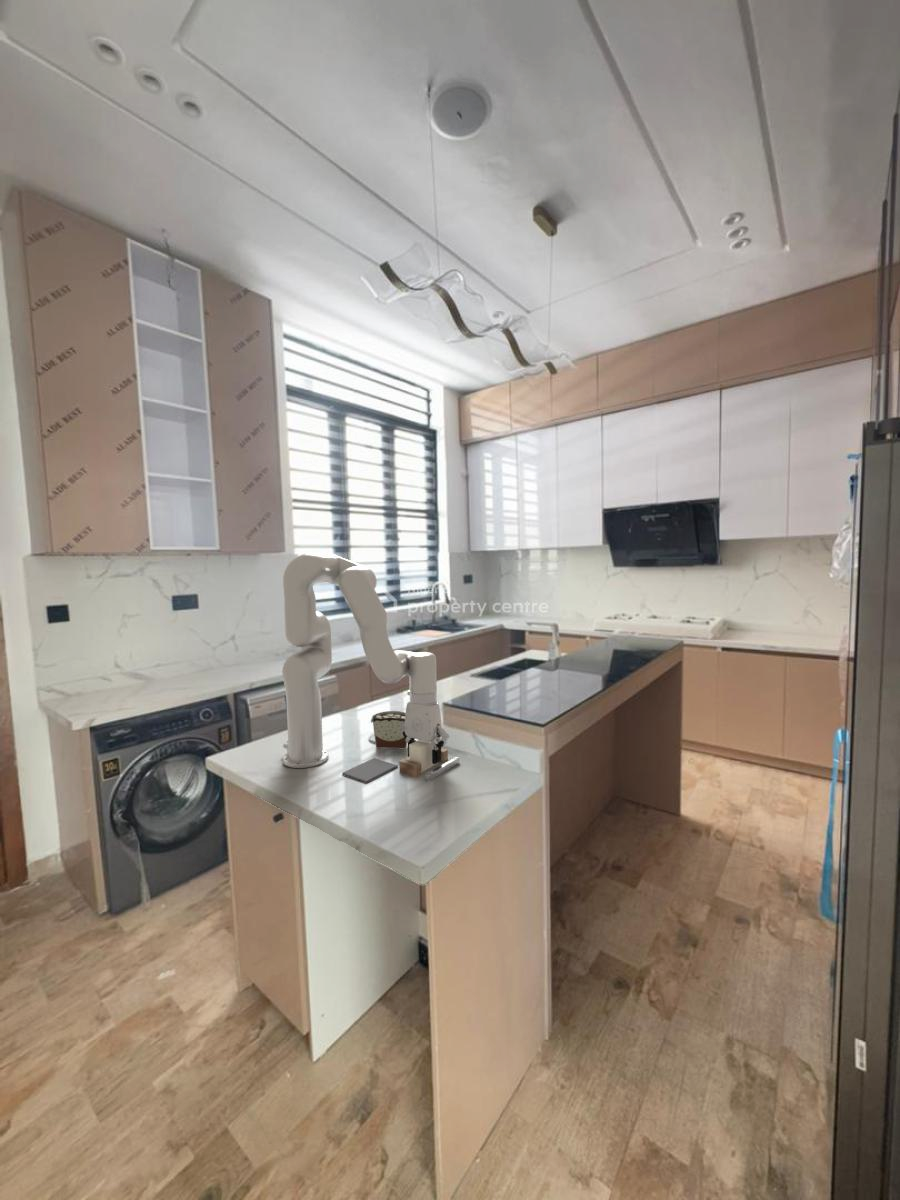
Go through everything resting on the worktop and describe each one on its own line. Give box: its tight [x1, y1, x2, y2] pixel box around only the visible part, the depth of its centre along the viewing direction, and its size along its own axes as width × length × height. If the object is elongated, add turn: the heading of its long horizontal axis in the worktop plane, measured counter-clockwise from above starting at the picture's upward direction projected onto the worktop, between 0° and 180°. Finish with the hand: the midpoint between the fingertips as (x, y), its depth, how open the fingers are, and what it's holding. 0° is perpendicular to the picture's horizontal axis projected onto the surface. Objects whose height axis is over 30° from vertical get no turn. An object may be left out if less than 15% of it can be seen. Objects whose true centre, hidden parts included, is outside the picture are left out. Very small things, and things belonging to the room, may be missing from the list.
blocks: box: [398, 747, 460, 782], centre depth 135 cm, size 10×14×3 cm
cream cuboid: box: [408, 739, 439, 773], centre depth 136 cm, size 4×8×7 cm, turn 144°
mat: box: [342, 757, 399, 784], centre depth 133 cm, size 9×12×1 cm
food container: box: [370, 710, 408, 750], centre depth 152 cm, size 12×6×10 cm, turn 84°
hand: (424, 758), depth 136 cm, fingers open, 8 cm apart
